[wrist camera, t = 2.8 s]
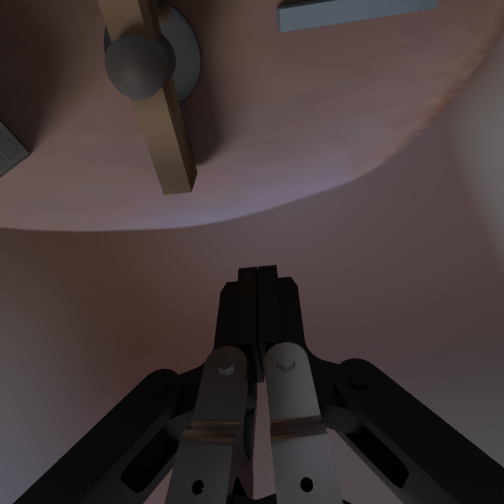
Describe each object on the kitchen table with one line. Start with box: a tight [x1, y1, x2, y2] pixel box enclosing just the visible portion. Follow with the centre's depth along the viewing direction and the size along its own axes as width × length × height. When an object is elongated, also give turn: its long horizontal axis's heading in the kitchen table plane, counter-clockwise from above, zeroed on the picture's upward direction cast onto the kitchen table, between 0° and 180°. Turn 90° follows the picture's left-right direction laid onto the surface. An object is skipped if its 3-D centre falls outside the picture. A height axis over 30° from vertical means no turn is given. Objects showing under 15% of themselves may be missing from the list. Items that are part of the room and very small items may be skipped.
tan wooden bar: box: [97, 0, 197, 195], centre depth 18 cm, size 17×3×4 cm, turn 8°
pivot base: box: [104, 0, 201, 102], centre depth 21 cm, size 6×6×1 cm
